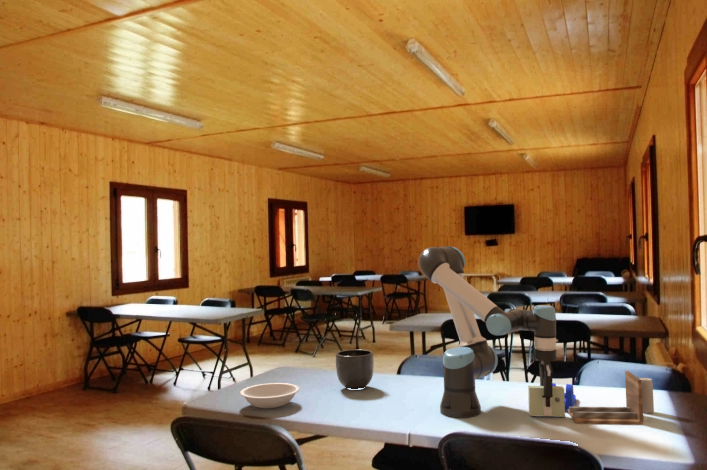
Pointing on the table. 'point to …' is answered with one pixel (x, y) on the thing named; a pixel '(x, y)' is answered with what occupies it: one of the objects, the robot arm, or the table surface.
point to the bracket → (568, 396)
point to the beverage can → (647, 395)
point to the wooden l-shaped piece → (614, 414)
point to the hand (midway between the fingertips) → (546, 413)
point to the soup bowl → (269, 394)
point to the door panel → (537, 401)
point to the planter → (354, 367)
